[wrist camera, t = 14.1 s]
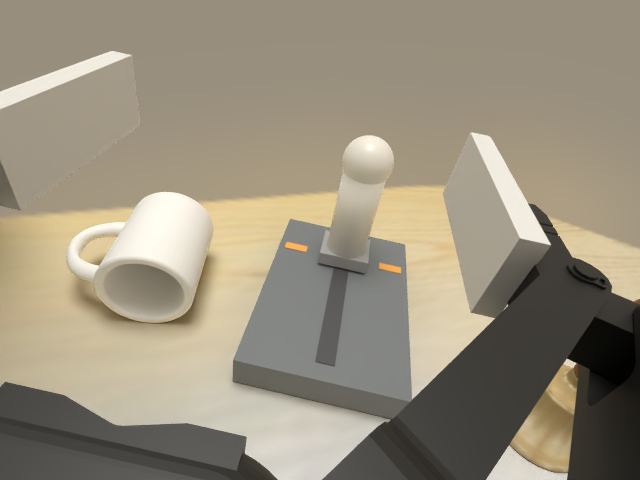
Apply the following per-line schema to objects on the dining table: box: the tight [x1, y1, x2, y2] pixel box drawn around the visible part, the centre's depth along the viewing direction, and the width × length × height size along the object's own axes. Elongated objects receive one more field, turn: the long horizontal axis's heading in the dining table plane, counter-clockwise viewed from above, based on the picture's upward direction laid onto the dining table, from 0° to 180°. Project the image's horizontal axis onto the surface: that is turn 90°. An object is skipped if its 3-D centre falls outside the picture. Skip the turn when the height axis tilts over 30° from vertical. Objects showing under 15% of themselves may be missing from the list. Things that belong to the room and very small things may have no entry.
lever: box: [318, 135, 394, 273], centre depth 36 cm, size 5×5×14 cm
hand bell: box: [510, 299, 640, 473], centre depth 27 cm, size 8×8×16 cm
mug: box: [66, 192, 213, 323], centre depth 35 cm, size 12×10×8 cm
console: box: [233, 219, 412, 419], centre depth 37 cm, size 14×20×3 cm
